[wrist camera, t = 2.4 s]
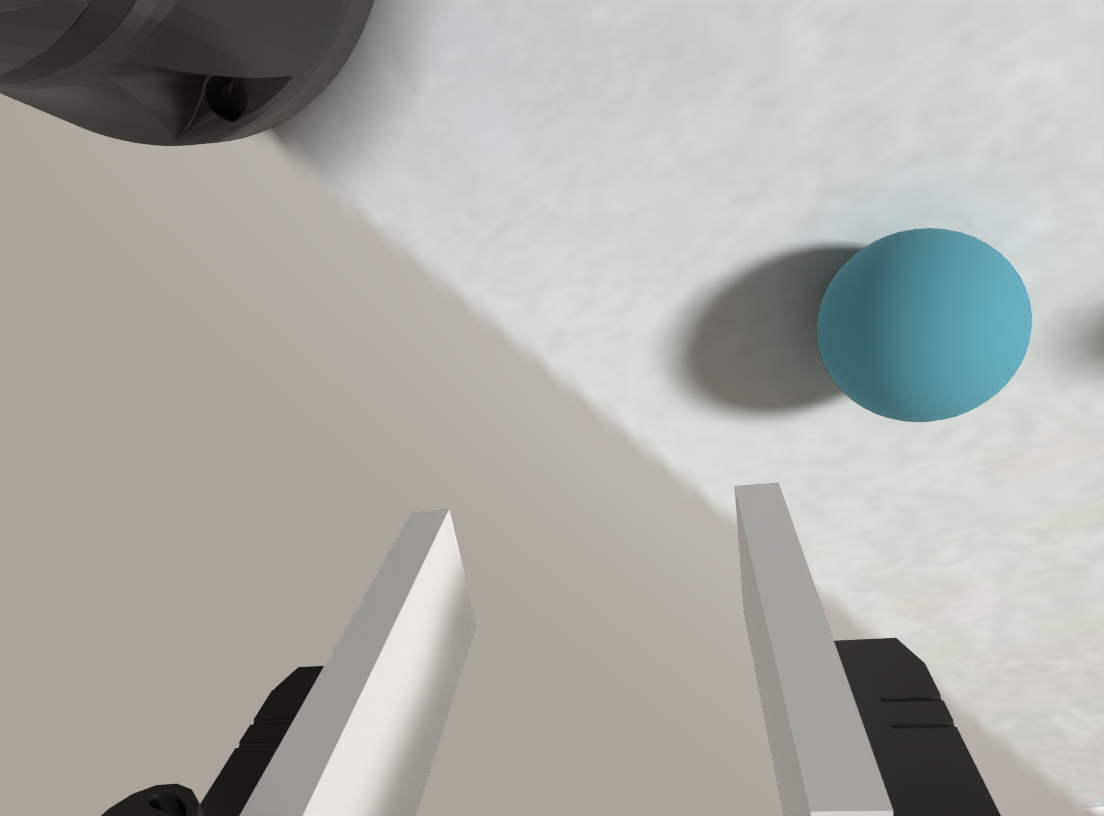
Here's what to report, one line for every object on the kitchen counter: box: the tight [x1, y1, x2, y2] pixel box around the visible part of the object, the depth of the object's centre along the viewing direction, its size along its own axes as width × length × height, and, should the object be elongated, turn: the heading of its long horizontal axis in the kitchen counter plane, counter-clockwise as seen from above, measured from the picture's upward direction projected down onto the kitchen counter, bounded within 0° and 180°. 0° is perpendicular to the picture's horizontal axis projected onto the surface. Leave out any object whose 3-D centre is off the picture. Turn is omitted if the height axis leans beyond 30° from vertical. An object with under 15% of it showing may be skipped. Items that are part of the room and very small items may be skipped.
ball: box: [817, 228, 1032, 422], centre depth 23 cm, size 6×6×6 cm
